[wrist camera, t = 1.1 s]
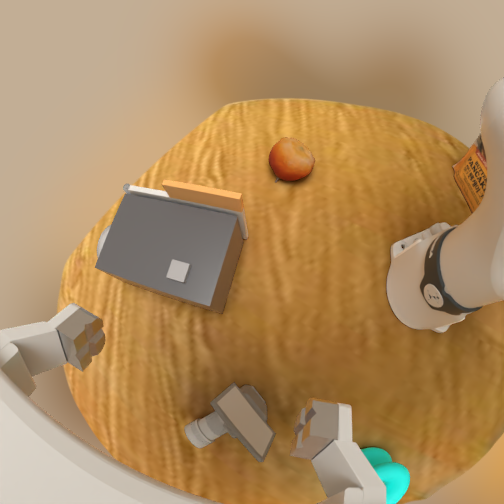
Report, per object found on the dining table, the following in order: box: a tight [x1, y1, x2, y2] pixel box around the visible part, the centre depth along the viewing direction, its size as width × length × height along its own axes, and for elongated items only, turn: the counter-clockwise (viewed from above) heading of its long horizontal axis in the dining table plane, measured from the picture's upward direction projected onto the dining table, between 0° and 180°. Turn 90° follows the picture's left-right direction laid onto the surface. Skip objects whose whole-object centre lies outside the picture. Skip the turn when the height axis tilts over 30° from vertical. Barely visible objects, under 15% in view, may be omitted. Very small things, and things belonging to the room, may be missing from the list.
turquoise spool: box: [361, 447, 410, 504], centre depth 27 cm, size 10×10×10 cm
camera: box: [184, 382, 276, 462], centre depth 30 cm, size 9×12×15 cm
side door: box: [123, 180, 248, 240], centre depth 40 cm, size 19×1×14 cm, turn 75°
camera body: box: [95, 194, 243, 314], centre depth 40 cm, size 20×12×11 cm, turn 75°
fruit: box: [269, 137, 315, 182], centre depth 46 cm, size 8×8×8 cm
